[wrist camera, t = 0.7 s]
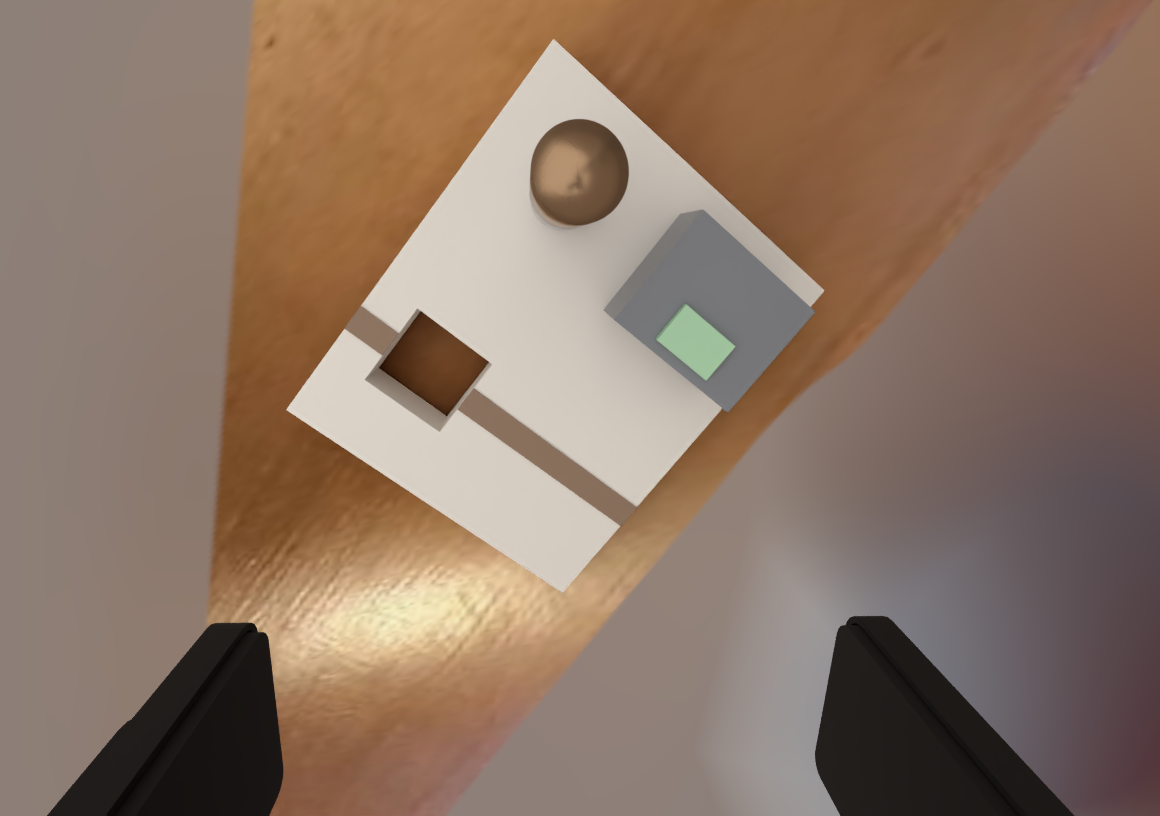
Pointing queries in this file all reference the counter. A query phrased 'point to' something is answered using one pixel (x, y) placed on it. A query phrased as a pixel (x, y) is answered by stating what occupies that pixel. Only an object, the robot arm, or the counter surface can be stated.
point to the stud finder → (709, 308)
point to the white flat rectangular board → (532, 341)
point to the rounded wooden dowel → (577, 174)
